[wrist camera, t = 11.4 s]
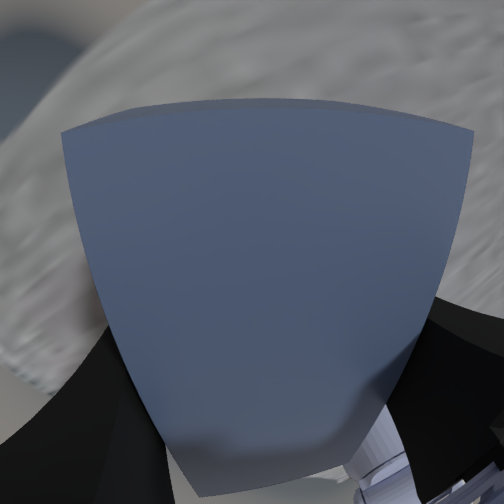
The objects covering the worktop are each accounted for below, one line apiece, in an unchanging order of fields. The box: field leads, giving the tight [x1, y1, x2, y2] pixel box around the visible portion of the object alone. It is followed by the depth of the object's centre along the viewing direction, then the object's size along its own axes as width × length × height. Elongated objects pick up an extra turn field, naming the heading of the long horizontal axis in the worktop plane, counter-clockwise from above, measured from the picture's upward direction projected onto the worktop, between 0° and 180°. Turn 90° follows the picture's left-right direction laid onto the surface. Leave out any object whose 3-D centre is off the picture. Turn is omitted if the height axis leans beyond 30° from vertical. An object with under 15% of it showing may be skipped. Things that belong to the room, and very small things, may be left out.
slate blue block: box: [61, 98, 474, 497], centre depth 8 cm, size 12×6×5 cm, turn 1°
